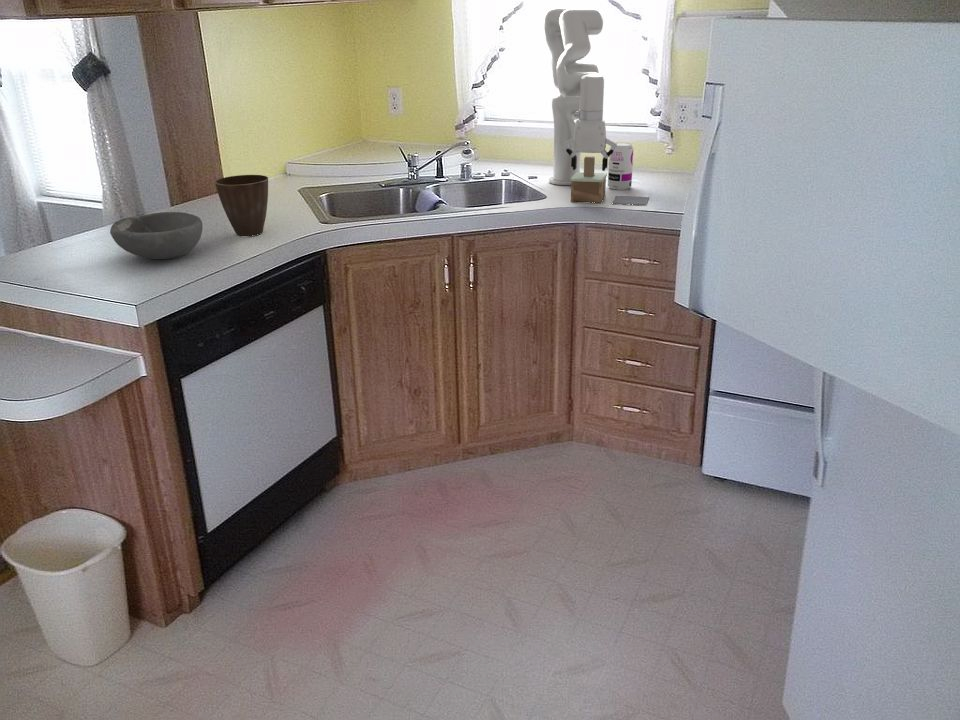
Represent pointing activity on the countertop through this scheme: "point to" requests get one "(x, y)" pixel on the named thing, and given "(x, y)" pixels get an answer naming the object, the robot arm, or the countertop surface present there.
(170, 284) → the countertop surface
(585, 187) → the tea box
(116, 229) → the bowl
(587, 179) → the lid
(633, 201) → the coaster
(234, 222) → the plant pot
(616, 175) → the supplement can
